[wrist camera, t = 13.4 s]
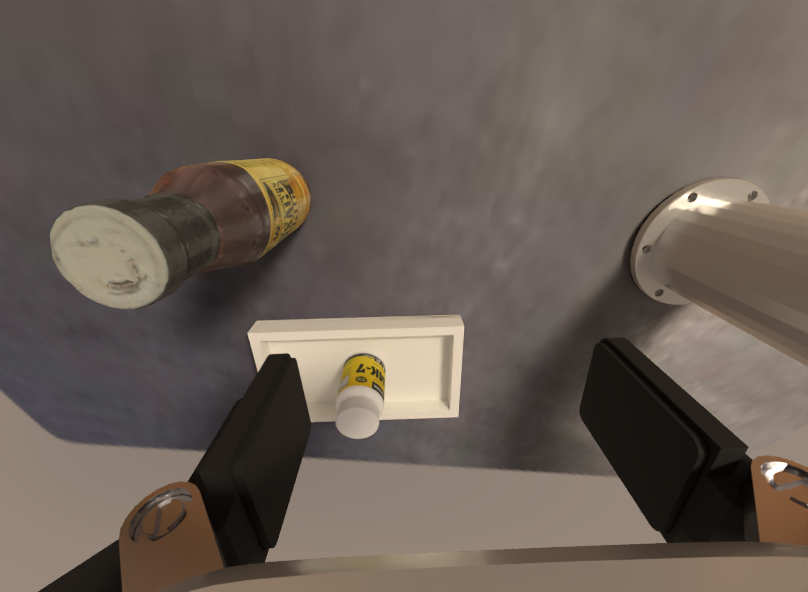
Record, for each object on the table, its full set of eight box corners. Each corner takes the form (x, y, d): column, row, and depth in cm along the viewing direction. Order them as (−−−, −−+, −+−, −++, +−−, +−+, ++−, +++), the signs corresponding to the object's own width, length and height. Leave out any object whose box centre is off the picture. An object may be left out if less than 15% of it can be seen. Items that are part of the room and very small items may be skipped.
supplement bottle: (393, 362, 38) (393, 419, 30) (371, 389, 39) (366, 449, 32) (357, 342, 36) (348, 397, 29) (336, 371, 38) (322, 429, 30)
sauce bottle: (305, 237, 32) (189, 367, 14) (239, 213, 31) (20, 322, 13) (323, 169, 29) (210, 222, 11) (252, 141, 28) (-1, 149, 10)
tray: (459, 314, 36) (464, 326, 34) (454, 401, 41) (458, 416, 39) (256, 320, 36) (247, 333, 33) (278, 407, 41) (271, 423, 39)
